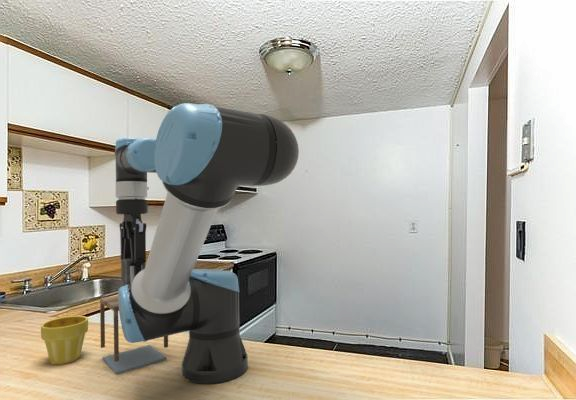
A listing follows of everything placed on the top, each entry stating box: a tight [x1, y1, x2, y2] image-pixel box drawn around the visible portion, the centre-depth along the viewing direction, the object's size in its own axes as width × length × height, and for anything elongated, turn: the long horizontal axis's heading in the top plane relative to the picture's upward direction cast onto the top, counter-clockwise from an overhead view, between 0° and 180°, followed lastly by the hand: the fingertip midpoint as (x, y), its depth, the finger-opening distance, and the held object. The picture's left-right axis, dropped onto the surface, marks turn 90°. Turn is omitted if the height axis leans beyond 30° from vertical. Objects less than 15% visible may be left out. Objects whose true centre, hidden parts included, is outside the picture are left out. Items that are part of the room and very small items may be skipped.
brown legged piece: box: [99, 258, 169, 362], centre depth 93 cm, size 13×13×22 cm
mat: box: [101, 344, 168, 375], centre depth 92 cm, size 12×12×1 cm
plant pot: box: [40, 315, 89, 365], centre depth 94 cm, size 10×10×10 cm
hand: (133, 289), depth 93 cm, fingers closed on brown legged piece, 4 cm apart
